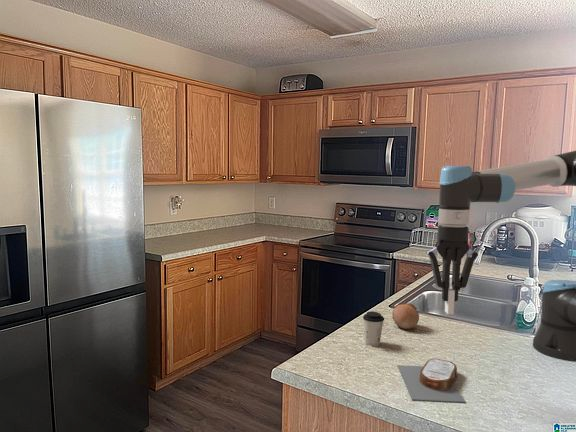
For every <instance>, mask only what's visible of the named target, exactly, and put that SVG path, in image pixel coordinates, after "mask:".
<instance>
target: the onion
mask: <svg viewBox="0 0 576 432" xmlns="http://www.w3.org/2000/svg"><path fill="white" fill-rule="evenodd" d="M391 318H392V320H393V322H394V323H395V325H396V326H397V327H398V328H400V329H403V330H407V329H408V330H413V329H414V328H416V327H417V325H418V324H419V322H420V321H419V320H420V315H419V311H418V308H417V307H416V306H415V305H414V304H413V303H411V302H407V303H402V304H397V305H396V306H395V307H394V308H393V310H392V317H391Z"/></svg>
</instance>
